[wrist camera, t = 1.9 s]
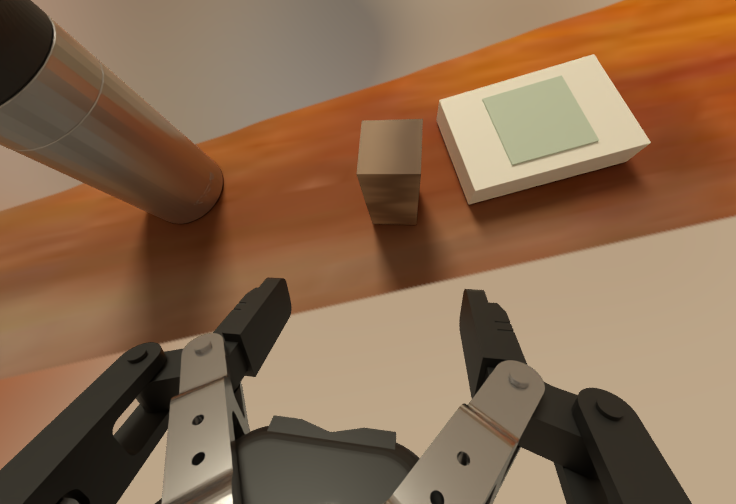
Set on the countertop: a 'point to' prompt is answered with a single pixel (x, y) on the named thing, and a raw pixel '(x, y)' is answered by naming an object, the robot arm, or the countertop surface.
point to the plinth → (538, 129)
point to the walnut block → (391, 169)
